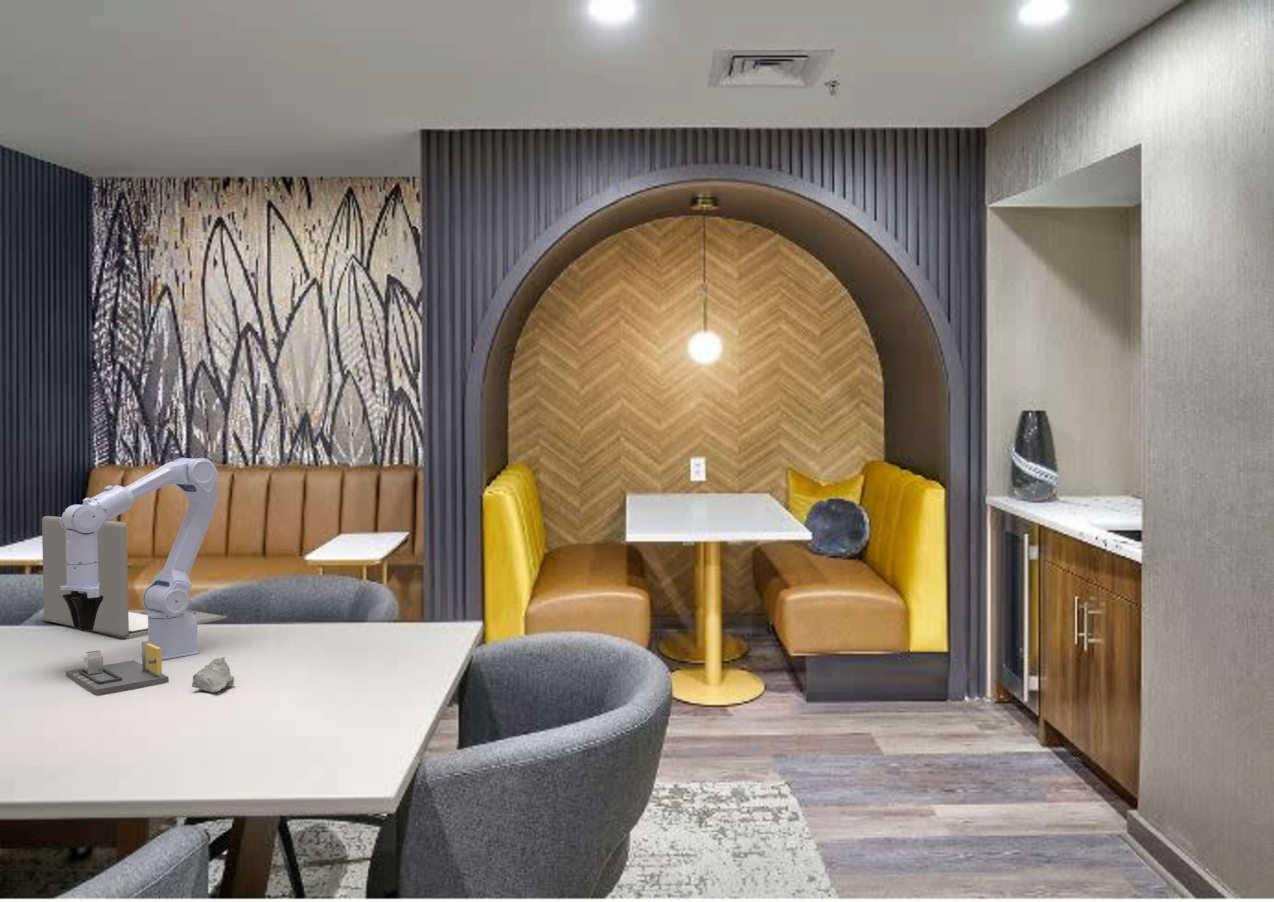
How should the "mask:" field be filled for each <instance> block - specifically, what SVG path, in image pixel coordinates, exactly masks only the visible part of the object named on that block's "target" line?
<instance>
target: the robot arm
mask: <svg viewBox="0 0 1274 902" xmlns="http://www.w3.org/2000/svg"><path fill="white" fill-rule="evenodd" d="M219 476H220V472H219V471H218V470H217V468H216V466H215V465H214V463H213V462H212V461H211V460H209V459H208V458H204V457H200V458H187V457H179V458H176V459H174V460H173V461H170V462H169V461H168V462H166V463H165V464H163V465H161V466H160V467H158V468H156V469H154V470H152V471H151V472H150V473H148V474H146V475H144V476H142V477H141V478H139V479H137V480H135V481H133V482H132V483H130V484H128V485H126V486H121V485H107V486H105V487H104V488H103V490H104V491H102V492H100V493H98V494H96V495H94V496H92V497H85V498H84V499H82V504H72V505H69V506H68V507H67V508H65V510H64V512H62V515H61V517H62V518H60V523H61V526H62V527H63V528H64V529H65V530H66V572H67V585H65V586H60V589H61V590H68V591H70V590H71V591H72V592H71V594H65V595H63V598H64V600H65V601H66V603H67V605H68V607H69V610H70V613H71V617H72V621H73V624H74V627H73V628H74V629H80V631H81V632H85V631H90V630H93V627H94V623H95V618H96V614H97V611H98V608H99V606H100V604H101V602H102V600H103V597H104V596H102V595H99V587H100V583H99V581H98V540H97V531H98V530H99V529H100V527H101V526H102V523H105V522H106V521H111V520H112V519H114V518H116V517H118V516H119V515H121V514H123V513H125V512H127V511H129V510H131V508H132V507H133V504H134V502H135V501H136V500H137V499H140V498H141V497H143V496H147V494H150V493H152V492H155V491H156V490H158V489H160V488H163V487H165V486H166V485H176V486H177V487H178V488H179V489H180V490H181V491H183V492H184V495H185V496H186V498H187V499H188V502H189V504H188V508H187V509H186V512H185V514H184V516H183V517H184V518H183V520H182V522H181V525H180V527H179V529H178V532H177V535H176V537H175V539H174V542H173V543H172V546H171V549H170V552H169V554H168V556H167V559H166V561H165V564H164V566H163V569H161V570H160V571H159V572H158V573H157V574H156V575H155V576H154V577H153V579H152V582H151V583H150V585H148V587H146V588H145V590H144V591H143V593H142V596H141V601H142V606H143V607H144V608H145V610H148V635H147V637H148V640H147V641H150V644H152V645H155V646H157V647H159V648H161V659H162V661H163V660H169V659H175V658H181V657H187V656H194V655H198V654H199V653H200V651H198V648H199V647H198V625H197V621H196V618H195V616H194V614H193V613H184V611H185V610H188V608H189V605H190V602H191V601H190V600H191V597H190V592H191V588H192V583H191V580H190V579H191V578H190V574H191V571H192V568H193V566H194V563H195V561H196V558H197V556H198V553H199V551H200V548H201V546H202V544H203V541H204V538H205V535H206V532H207V531H208V528H209V527H210V523H211V521H212V518H213V515H214V513H215V511H216V507H217V506H218V502H219V496H218V482H217V481H218V478H219Z"/></svg>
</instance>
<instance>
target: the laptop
mask: <svg viewBox="0 0 1274 902" xmlns="http://www.w3.org/2000/svg"><path fill="white" fill-rule="evenodd" d="M60 518H62V516H53V515H52V516H51V515H45V516H43V517H42V518H41V532H42V533H41V534H42V535H41V536H42V537H41V540H42V579H43V580H42V583H43V584H42V585H43V586H42V588H43V590H42V591H43V592H42V593H43V618H44V620H45V621H46V622H49V623H55V624H59V625H64V626H68V627H73V628H75V627H74V624H73V621H72V617H71V613H70V610H69V607H68V605H67V603H66V601H65V600H64V598H63V595H65V594H71V592H72V591H71V590H70V591H68V590H61V589H60V586H65V585H67V572H66V530H65V529H64V528H63V527H62V526H61V523H60ZM127 525H128V524H127V523H126V522H124V521H123V522H122V521H112V520H108V521H106V522H105V523H102V526H101V527H100V529H99V530H98V531H97V540H98V581H99V583H100V587H99V595H102V596H104V597H103V600H102V602H101V604H100V606H99V608H98V611H97V614H96V618H95V623H94V627H93V630H89V631H90V632H96V633H100V634H104V635H109V636H113V637H117V638H121V639H124V640H125V639H126V640H131V639H137V638H141V637H145V636H147V637H148V609H130V610H129V580H128V579H129V575H128V574H129V573H128V569H129V568H128V565H129V564H128V527H127ZM184 613H193V614H194V616H195V618H196V621H197V626H198V625H201V624H207V623H211V622H216V621H220V620H225V619H228V618H229V617H228V616H227V615H222V614H215V613H210V612H205V611H204V612H203V611H197V610H190V609H186V610H185V611H184Z"/></svg>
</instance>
